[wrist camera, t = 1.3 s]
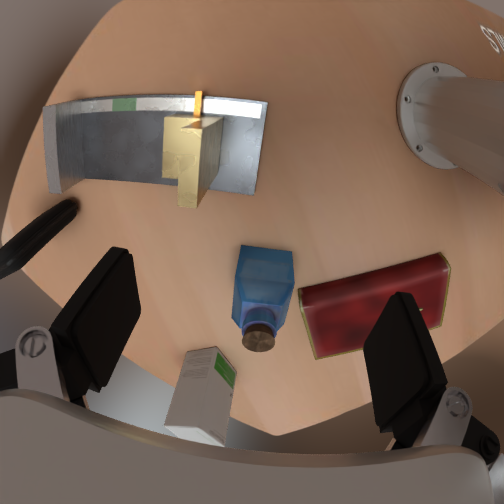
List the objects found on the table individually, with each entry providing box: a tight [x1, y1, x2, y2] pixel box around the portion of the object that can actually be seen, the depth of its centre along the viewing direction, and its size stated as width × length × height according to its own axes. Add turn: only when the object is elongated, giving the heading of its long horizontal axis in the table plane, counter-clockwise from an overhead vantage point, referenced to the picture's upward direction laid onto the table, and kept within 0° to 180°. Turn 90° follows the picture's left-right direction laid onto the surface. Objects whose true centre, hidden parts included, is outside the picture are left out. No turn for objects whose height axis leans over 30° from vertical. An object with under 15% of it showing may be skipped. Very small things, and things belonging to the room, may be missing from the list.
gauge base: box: [43, 94, 268, 195], centre depth 25 cm, size 23×10×6 cm, turn 82°
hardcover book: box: [298, 253, 451, 360], centre depth 37 cm, size 12×21×4 cm, turn 108°
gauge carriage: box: [162, 91, 224, 208], centre depth 22 cm, size 5×8×9 cm, turn 172°
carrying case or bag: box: [0, 200, 77, 279], centre depth 28 cm, size 11×3×15 cm, turn 109°
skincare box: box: [164, 347, 237, 447], centre depth 41 cm, size 8×7×16 cm
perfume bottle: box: [232, 245, 295, 352], centre depth 31 cm, size 6×6×12 cm
